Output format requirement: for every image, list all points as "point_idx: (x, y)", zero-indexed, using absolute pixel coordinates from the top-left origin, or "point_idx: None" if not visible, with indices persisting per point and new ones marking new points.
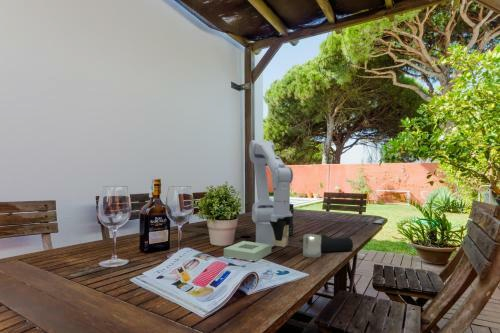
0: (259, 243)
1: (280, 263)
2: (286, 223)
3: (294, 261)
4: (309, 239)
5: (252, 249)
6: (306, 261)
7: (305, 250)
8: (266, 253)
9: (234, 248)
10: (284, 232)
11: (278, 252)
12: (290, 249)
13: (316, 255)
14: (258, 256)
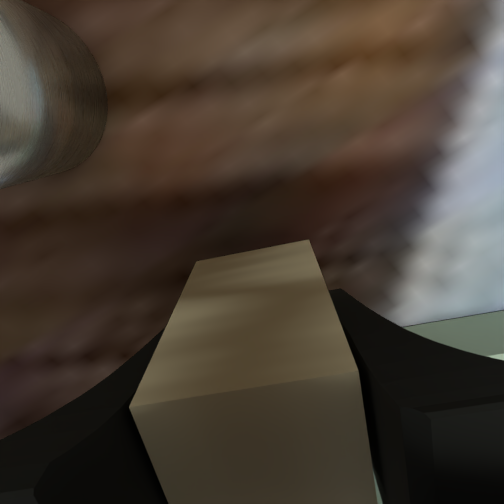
0: None
1: (422, 162)
2: (126, 464)
3: (303, 108)
4: (1, 52)
5: None
6: (233, 24)
7: (83, 121)
8: None
9: None
10: (331, 310)
11: None
12: (41, 313)
13: (49, 15)
14: (451, 334)
